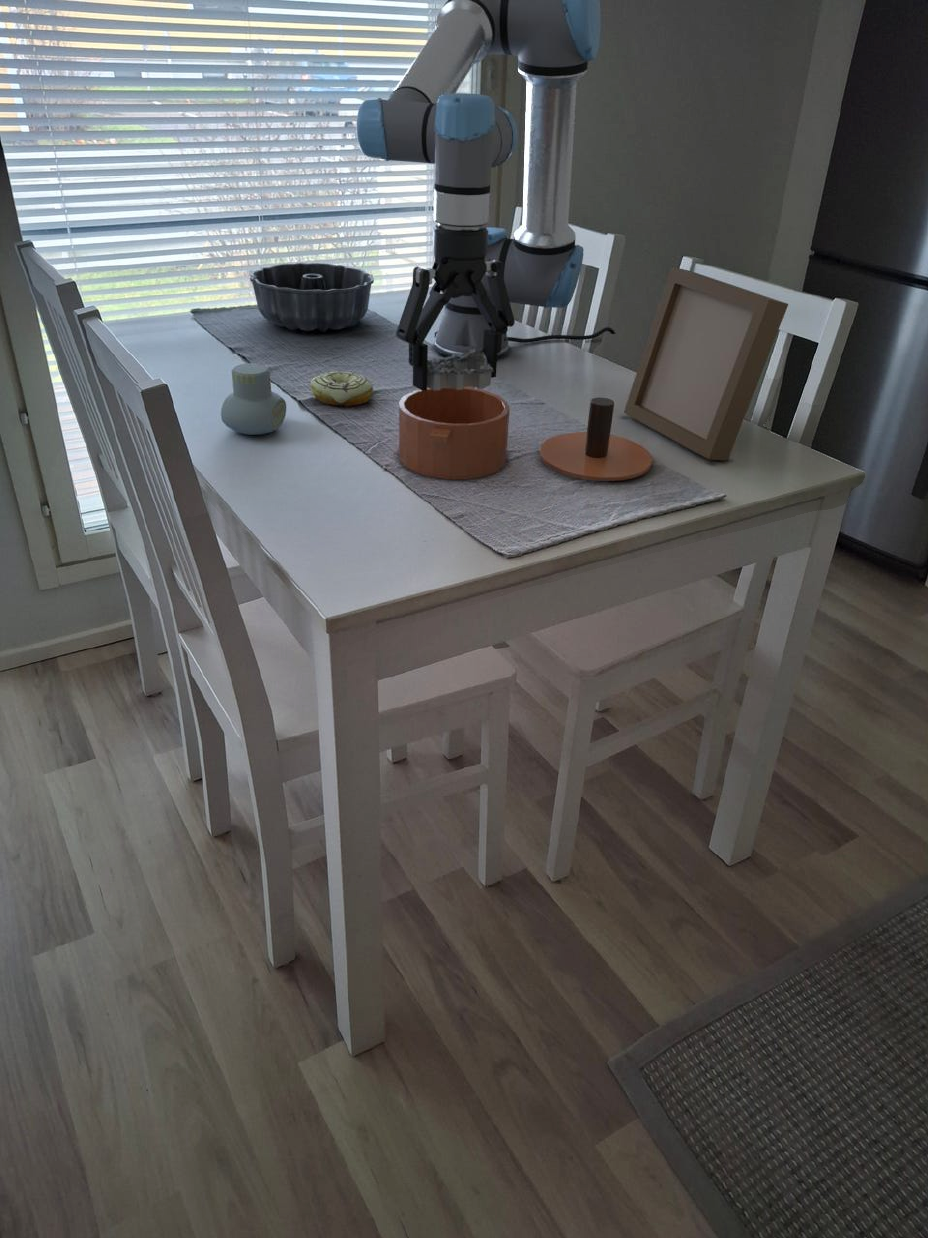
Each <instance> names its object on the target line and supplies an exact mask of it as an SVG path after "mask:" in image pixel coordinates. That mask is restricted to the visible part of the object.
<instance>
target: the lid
mask: <svg viewBox="0 0 928 1238" xmlns="http://www.w3.org/2000/svg"><path fill="white" fill-rule="evenodd" d="M614 408H615V401H614V400H613V399H610V398H608V397H599V396H598V397H594V398H591V399H590V403H589V410H588V411H589V412H588V419H587V427H586V431H581V432H579V431H578V432H568V433H563V434H557V435H555V436H552V437H550V438H548V439H545V441H544V442H542V444H541V445H540V448H539V458H540V459H541V460H542V462H543V463H544V464H545V465H546V466H547V467H549V468H550V469H553V470H554V471H556V472H559V473H560V474H564V475H566V476H570V477H574V478H577V479H581V480H588V481H589V480H590V481H599V482H609V481H610V482H611V481H612V482H615V481H625V480H630V479H634V478H637V477H640V476H642V475H644V474H645V473H647V472H648V471H649V470H650V469H651V467H652V463H653V457H652V453H650V451H648V449H647V448H645V447H644V446H643V445H641V444H639V443H637V442H635V441H633V440H630V439H628V438H626V437H621V436H618V435H614V434H611V432H612V431H611V430H612V424H613V423H612V422H613V417H614Z"/></svg>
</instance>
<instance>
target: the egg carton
mask: <svg viewBox="0 0 928 1238" xmlns="http://www.w3.org/2000/svg"><path fill="white" fill-rule="evenodd" d="M491 371H492V372H493V369H492V367H491V366H490V364H488V362H487V358H486V356H485V354H484V352H483V349H478V350H477V349H473V350H470V349H469V350H466V351H463V353H462V355H455V354H454V355H452V356H451V357H448V356H445V357H441V356H440V357H434V358H431V359H428V362H427V388H430V389H432V390H434V391H436V390H440V389H442V388H444V387H451V388H455V389H456V390H462V389H463V388H465V387H470V386H471V387H475V389H480V390H484V389H485V388H486V387H489V386H491V384H492V378H491Z"/></svg>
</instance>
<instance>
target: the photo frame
mask: <svg viewBox="0 0 928 1238" xmlns="http://www.w3.org/2000/svg"><path fill="white" fill-rule="evenodd" d="M788 307H789V303H787V302H784V301H781V300H778V299H774V298H773V297H769V296H766V295H763V294H760V293H757V292H754V291H751V290H748V289H746V288H743V287H739V286H737V285H734V284H730V283H727V282H725V281H722V280H718V279H715V278H713V277H710V276H707V275H704V274H701V273H698V272H695V271H692V270H688V269H684V268H680V267H676V266H671V267H670V271H669V274H668V276H667V280H666V283H665V286H664V289H663V292H662V295H661V298H660V301H659V304H658V307H657V310H656V313H655V316H654V319H653V322H652V325H651V329H650V332H649V335H648V338H647V340H646V343H645V347H644V349H643V351H642V352H643V353H642V356H641V359H640V362H639V365H638V368H637V371H636V374H635V377H634V380H633V383H632V386H631V390H630V392H629V395H628V399H627V401H626V404H625V407H624V411H623V414H625V415H627V416H629V417H631V418H632V419H634V420H636V421H638V422H640V423H641V424H643V425H645V426H647V427H649V428H650V429H652V430H654V431H656V432H658V433H660V434H662V436H665V437H667V438H669V439H670V440H673V441H674V442H677V443H678V444H680V445H682V446H683V447H685V448H687V449H689V450H691V451H692V452H694V453H696V454H698V455H700V456H701V457H703V458H706V459H707V460H713V461H726V462H727V461H728V460H729V458H730V455H731V453H732V450H733V448H734V444H735V442H736V439H737V437H738V434H739V432H740V430H741V428H742V424H743V422H744V419H745V417H746V414H747V411H748V409H749V406H750V404H751V402H752V398H753V396H754V393H755V391H756V388H757V386H758V383H759V381H760V379H761V375H762V373H763V370H764V368H765V365H766V363H767V360H768V358H769V355H770V353H771V350H772V347H773V345H774V343H775V340H776V338H777V335H778V332H779V330H780V327H781V324H782V322H783V319H784V316H785V314H786V312H787V309H788Z"/></svg>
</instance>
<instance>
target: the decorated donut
mask: <svg viewBox="0 0 928 1238" xmlns="http://www.w3.org/2000/svg"><path fill="white" fill-rule="evenodd" d="M310 389H311V391H312V393H313V395H314V397H315V398H316V399H317V400H318V401H320V402H321V403H323V404H326V405H332V406H340V407H343V406H344V407H350V406H351V407H352V406H359V405H361V404H366V403H367V402H368V401H369V400H370V399H371V397H372V393H373V391H374V386H373V383H372V382H371V380H370V379H369V378H368V377H366V376H365V375H361V374H359V373H358V372H357V373H356V372H352V371H345V370H336V371H335V370H334V371H327V372H324V373H321V374H318V375H316V376H315V377H313V378H312V379H311V381H310Z"/></svg>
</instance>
